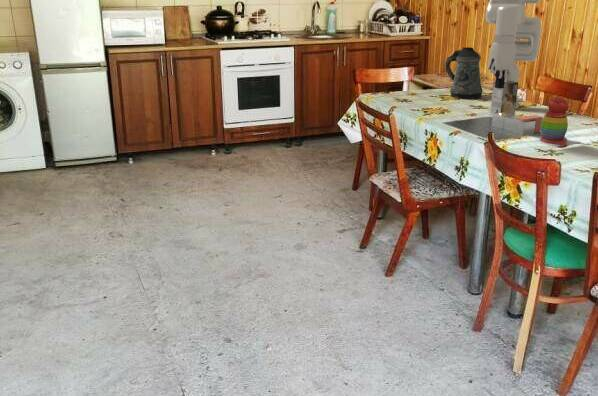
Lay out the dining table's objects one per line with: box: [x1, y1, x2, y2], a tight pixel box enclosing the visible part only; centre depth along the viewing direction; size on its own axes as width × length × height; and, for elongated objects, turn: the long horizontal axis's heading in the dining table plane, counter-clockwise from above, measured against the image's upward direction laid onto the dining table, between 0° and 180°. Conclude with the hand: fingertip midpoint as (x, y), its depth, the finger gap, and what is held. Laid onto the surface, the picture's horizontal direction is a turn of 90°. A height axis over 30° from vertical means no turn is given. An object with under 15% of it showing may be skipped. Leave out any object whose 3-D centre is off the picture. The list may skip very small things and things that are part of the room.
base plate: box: [442, 115, 541, 142], centre depth 242 cm, size 26×32×1 cm
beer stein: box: [444, 46, 483, 100], centre depth 302 cm, size 16×19×25 cm
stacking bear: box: [539, 95, 571, 149], centre depth 219 cm, size 11×10×18 cm
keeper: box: [516, 114, 543, 133], centre depth 232 cm, size 10×4×6 cm, turn 114°
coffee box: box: [489, 80, 519, 117], centre depth 259 cm, size 9×6×16 cm
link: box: [492, 112, 536, 135], centre depth 238 cm, size 17×6×5 cm, turn 25°
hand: (499, 87), depth 227 cm, fingers closed
